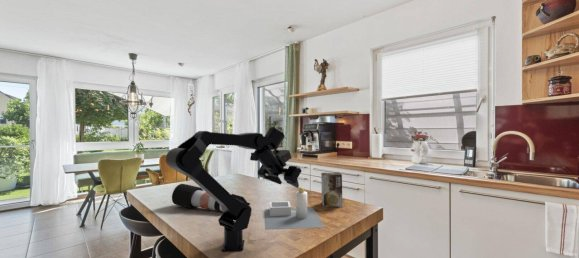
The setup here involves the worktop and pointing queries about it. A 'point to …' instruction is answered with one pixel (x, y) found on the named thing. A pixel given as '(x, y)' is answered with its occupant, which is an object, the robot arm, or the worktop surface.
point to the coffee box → (332, 189)
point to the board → (289, 217)
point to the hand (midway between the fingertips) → (289, 185)
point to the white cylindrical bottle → (301, 203)
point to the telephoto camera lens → (194, 198)
